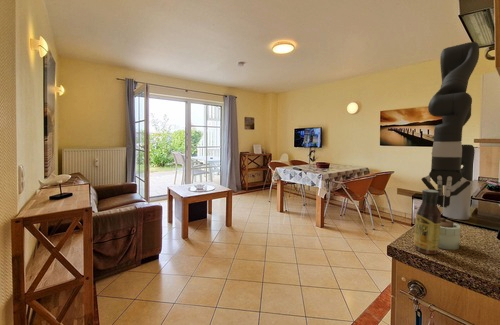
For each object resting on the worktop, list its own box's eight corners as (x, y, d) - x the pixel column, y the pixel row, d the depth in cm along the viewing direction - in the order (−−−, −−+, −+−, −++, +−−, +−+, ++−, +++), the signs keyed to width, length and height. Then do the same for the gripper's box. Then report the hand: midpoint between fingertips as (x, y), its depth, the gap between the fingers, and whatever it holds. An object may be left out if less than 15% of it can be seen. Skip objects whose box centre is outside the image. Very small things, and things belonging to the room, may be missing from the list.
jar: (426, 236, 85) (427, 217, 84) (459, 243, 79) (460, 223, 78) (422, 244, 79) (423, 224, 78) (458, 252, 72) (459, 231, 72)
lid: (432, 225, 82) (433, 215, 82) (453, 229, 78) (454, 218, 78) (430, 229, 78) (431, 219, 78) (452, 234, 74) (452, 222, 74)
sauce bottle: (409, 246, 77) (411, 188, 75) (428, 246, 77) (431, 187, 75) (423, 256, 70) (426, 192, 69) (444, 256, 70) (448, 192, 68)
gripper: (474, 155, 74) (470, 208, 76) (423, 154, 83) (420, 201, 85) (474, 156, 69) (470, 213, 70) (419, 155, 78) (417, 205, 79)
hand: (443, 206), depth 78 cm, fingers closed
